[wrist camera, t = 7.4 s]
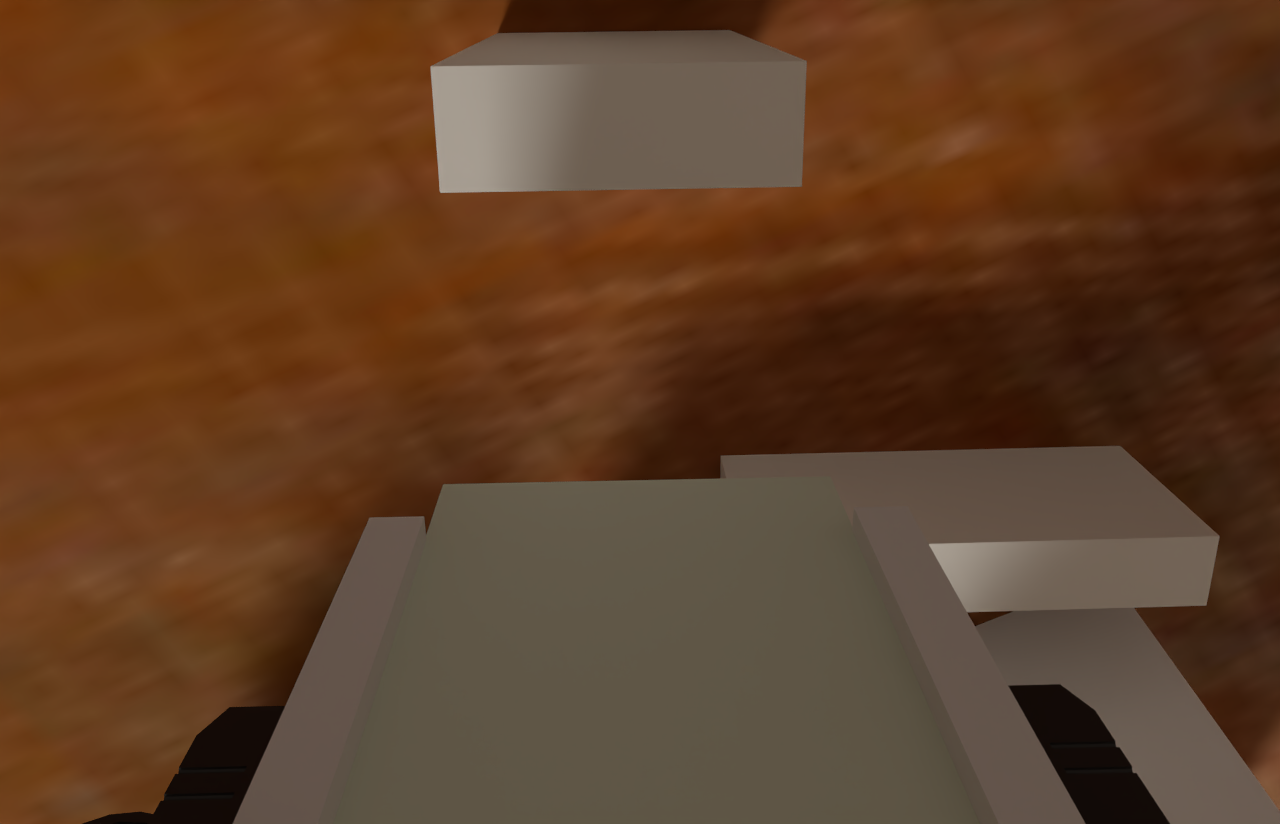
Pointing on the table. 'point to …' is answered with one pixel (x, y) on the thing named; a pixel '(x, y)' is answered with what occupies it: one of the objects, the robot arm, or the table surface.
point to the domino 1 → (618, 112)
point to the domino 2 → (648, 666)
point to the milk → (1135, 707)
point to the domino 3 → (1028, 522)
